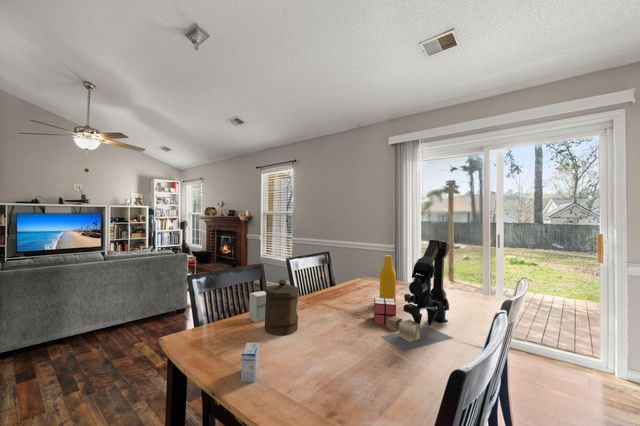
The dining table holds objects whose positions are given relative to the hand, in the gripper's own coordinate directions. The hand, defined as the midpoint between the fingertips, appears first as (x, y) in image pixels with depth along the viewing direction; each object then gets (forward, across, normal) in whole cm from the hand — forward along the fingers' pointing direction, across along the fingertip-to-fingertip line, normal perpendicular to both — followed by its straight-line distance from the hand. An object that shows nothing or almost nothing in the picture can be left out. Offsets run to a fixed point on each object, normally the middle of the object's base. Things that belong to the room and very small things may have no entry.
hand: (423, 326), depth 122 cm
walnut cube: (+4, +7, -11) cm, 13 cm away
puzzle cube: (+4, +5, -20) cm, 21 cm away
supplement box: (+4, +60, -48) cm, 77 cm away
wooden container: (+4, +54, -32) cm, 63 cm away
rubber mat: (+4, +5, +1) cm, 6 cm away
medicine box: (+4, +75, -1) cm, 75 cm away
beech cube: (0, +5, 0) cm, 5 cm away
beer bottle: (+4, -13, -39) cm, 41 cm away
